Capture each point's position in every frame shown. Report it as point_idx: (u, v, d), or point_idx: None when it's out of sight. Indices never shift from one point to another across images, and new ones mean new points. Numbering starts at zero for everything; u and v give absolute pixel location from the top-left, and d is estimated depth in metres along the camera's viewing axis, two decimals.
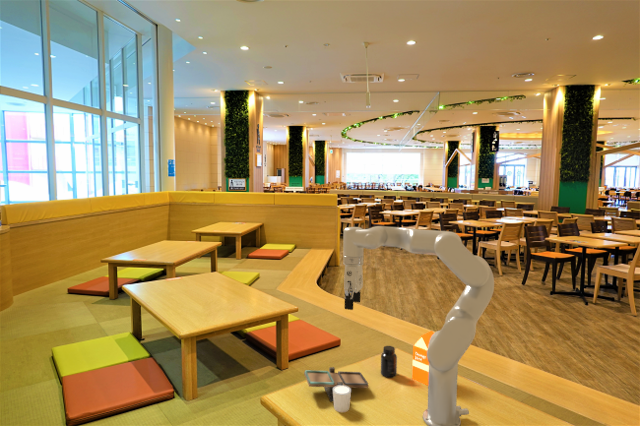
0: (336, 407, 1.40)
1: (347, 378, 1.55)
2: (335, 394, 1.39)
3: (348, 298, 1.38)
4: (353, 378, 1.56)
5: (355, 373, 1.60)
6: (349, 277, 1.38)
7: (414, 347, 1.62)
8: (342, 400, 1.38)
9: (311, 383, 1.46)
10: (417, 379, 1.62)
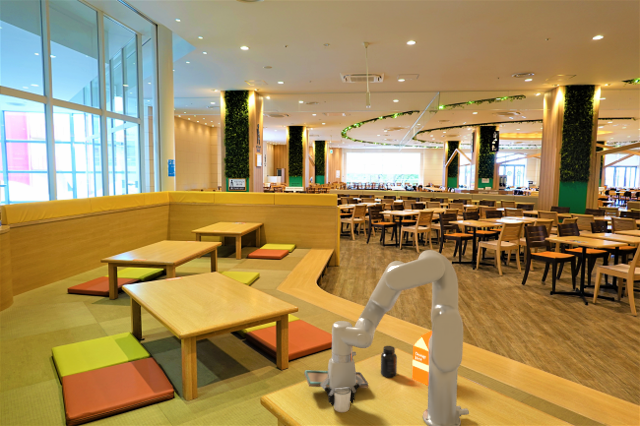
0: (336, 407, 1.40)
1: None
2: (335, 394, 1.39)
3: None
4: None
5: None
6: None
7: (414, 347, 1.62)
8: (342, 400, 1.38)
9: (311, 383, 1.46)
10: (417, 379, 1.62)
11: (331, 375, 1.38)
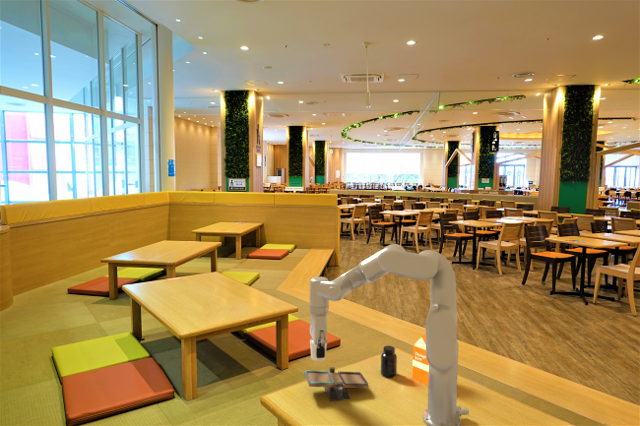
0: None
1: (347, 378, 1.55)
2: None
3: None
4: (353, 378, 1.56)
5: (355, 373, 1.60)
6: None
7: (414, 347, 1.62)
8: None
9: (311, 383, 1.46)
10: (417, 379, 1.62)
11: (326, 327, 1.47)
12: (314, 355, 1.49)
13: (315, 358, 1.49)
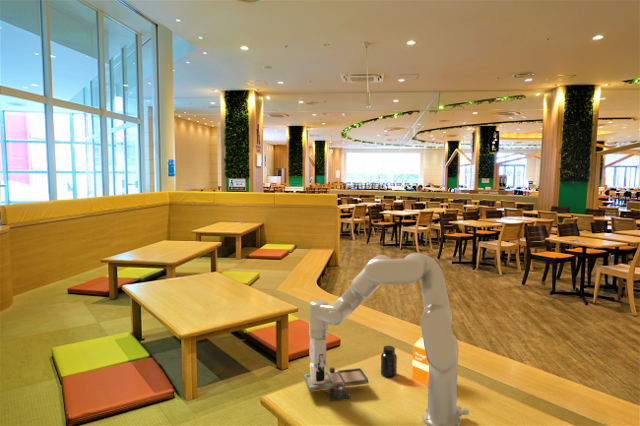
0: None
1: (346, 376, 1.55)
2: None
3: None
4: (353, 375, 1.56)
5: (355, 370, 1.60)
6: None
7: (414, 347, 1.62)
8: None
9: (310, 387, 1.46)
10: (417, 379, 1.62)
11: None
12: (314, 378, 1.49)
13: (315, 381, 1.49)
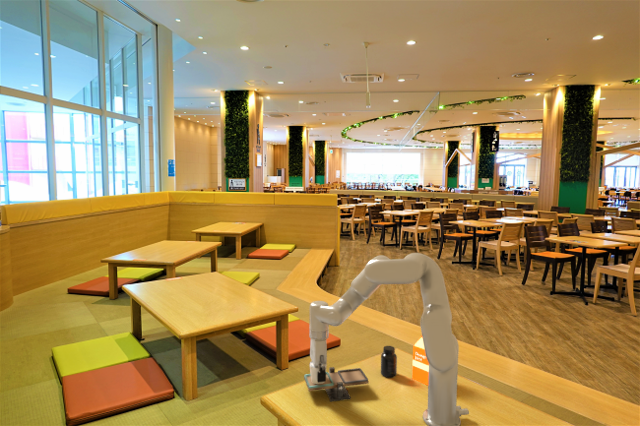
0: None
1: (346, 376, 1.55)
2: None
3: None
4: (353, 375, 1.56)
5: (355, 370, 1.60)
6: None
7: (414, 347, 1.62)
8: None
9: (310, 387, 1.46)
10: (417, 379, 1.62)
11: (326, 352, 1.47)
12: (314, 378, 1.49)
13: (315, 381, 1.49)
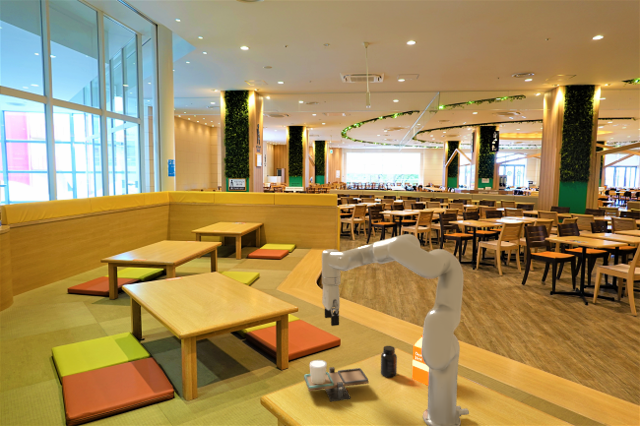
0: (323, 379, 1.50)
1: (346, 376, 1.55)
2: (323, 367, 1.49)
3: None
4: (353, 375, 1.56)
5: (355, 370, 1.60)
6: None
7: (414, 347, 1.62)
8: None
9: (310, 387, 1.46)
10: (417, 379, 1.62)
11: None
12: (314, 378, 1.49)
13: (315, 381, 1.49)
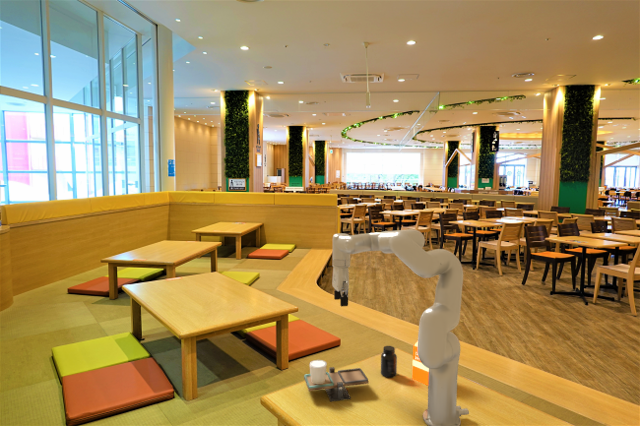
0: (323, 379, 1.50)
1: (346, 376, 1.55)
2: (323, 367, 1.49)
3: None
4: (353, 375, 1.56)
5: (355, 370, 1.60)
6: None
7: (414, 347, 1.62)
8: None
9: (310, 387, 1.46)
10: (417, 379, 1.62)
11: (348, 278, 1.59)
12: (314, 378, 1.49)
13: (315, 381, 1.49)
